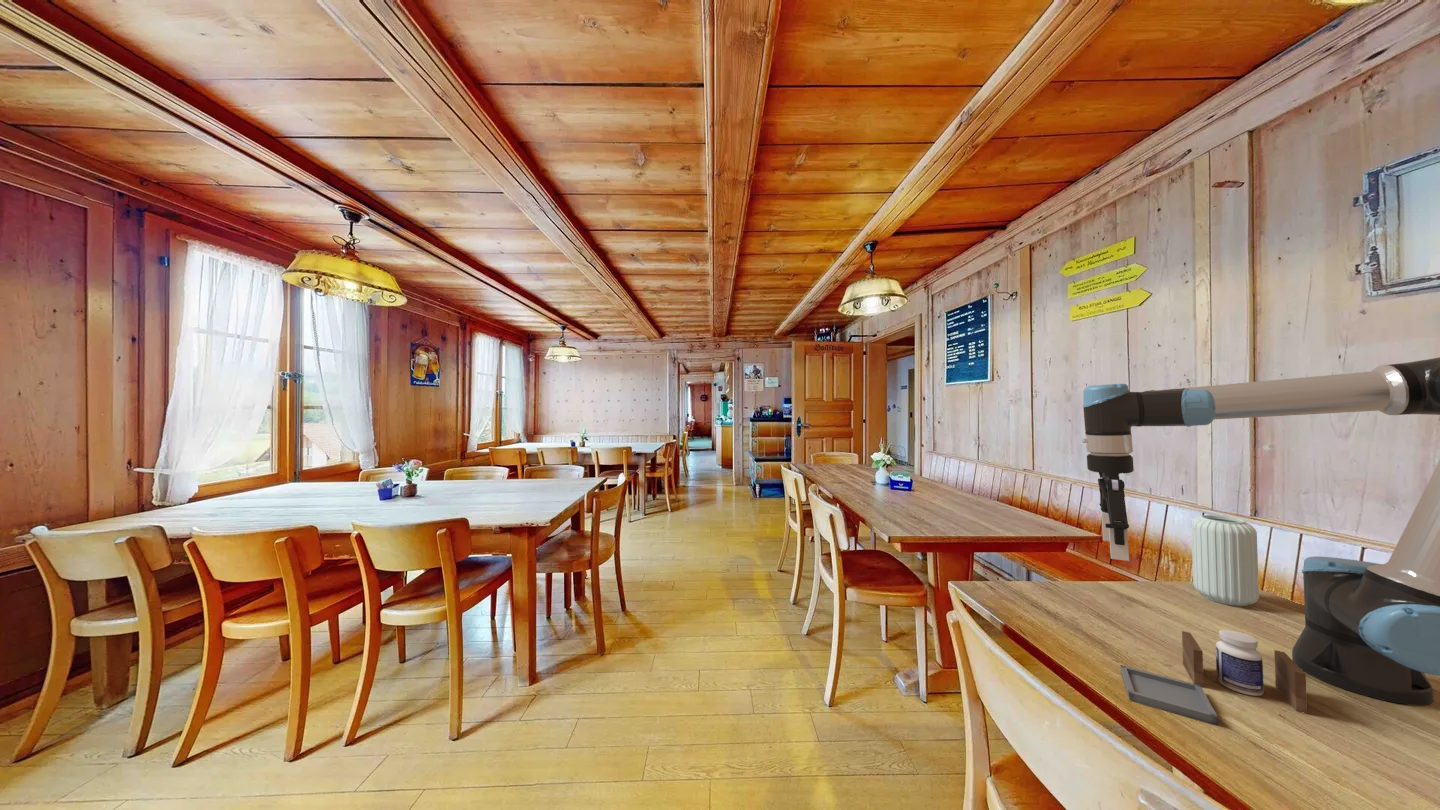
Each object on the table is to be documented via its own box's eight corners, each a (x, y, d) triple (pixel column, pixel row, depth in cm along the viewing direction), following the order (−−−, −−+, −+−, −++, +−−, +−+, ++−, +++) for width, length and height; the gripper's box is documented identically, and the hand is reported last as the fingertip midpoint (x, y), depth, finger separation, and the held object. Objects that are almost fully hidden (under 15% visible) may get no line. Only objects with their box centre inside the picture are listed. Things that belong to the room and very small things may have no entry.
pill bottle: (1274, 698, 77) (1272, 645, 77) (1236, 695, 79) (1234, 642, 79) (1242, 678, 83) (1240, 628, 83) (1207, 676, 84) (1206, 626, 84)
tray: (1200, 692, 80) (1199, 684, 80) (1218, 725, 72) (1218, 717, 72) (1120, 672, 86) (1120, 664, 86) (1129, 700, 78) (1129, 692, 78)
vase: (1269, 613, 107) (1266, 526, 107) (1203, 603, 113) (1200, 521, 113) (1246, 595, 116) (1243, 516, 116) (1186, 587, 123) (1184, 511, 123)
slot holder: (1285, 688, 80) (1284, 652, 80) (1307, 714, 74) (1305, 674, 74) (1183, 664, 88) (1181, 631, 88) (1194, 685, 82) (1193, 649, 82)
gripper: (1082, 447, 105) (1087, 532, 105) (1091, 460, 85) (1098, 564, 85) (1123, 448, 100) (1129, 536, 100) (1143, 461, 80) (1151, 571, 80)
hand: (1115, 549), depth 92 cm, fingers open, 13 cm apart
